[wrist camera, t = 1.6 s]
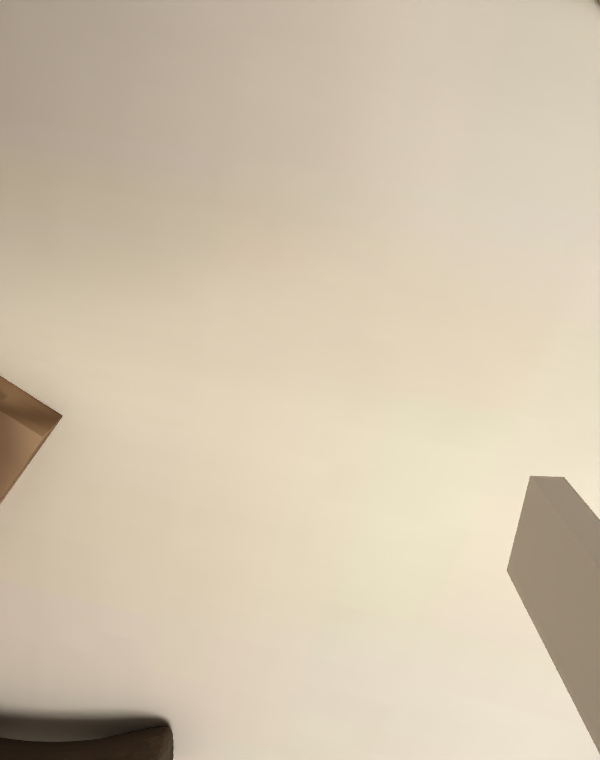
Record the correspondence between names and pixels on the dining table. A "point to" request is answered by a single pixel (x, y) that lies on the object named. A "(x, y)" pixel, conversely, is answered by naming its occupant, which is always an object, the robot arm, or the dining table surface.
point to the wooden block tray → (20, 432)
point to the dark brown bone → (95, 747)
